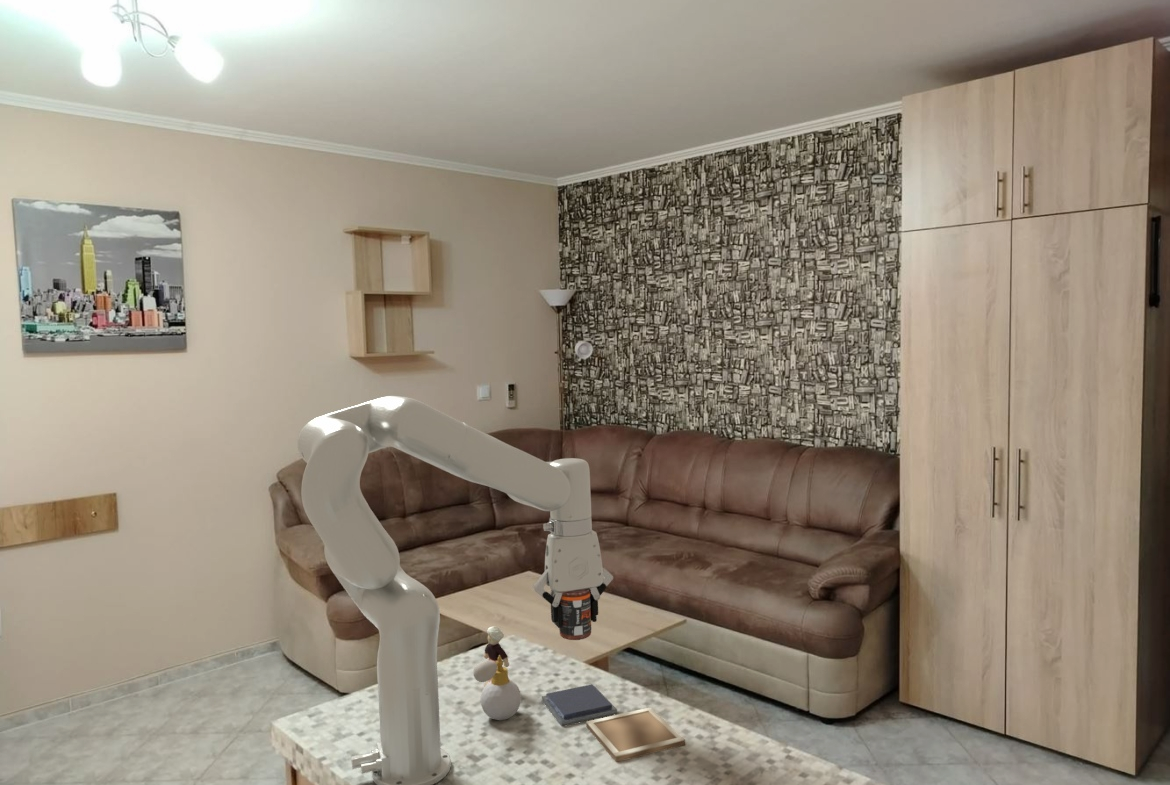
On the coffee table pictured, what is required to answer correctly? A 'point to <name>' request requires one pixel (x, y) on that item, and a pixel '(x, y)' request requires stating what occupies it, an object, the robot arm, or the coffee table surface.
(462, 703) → the coffee table surface
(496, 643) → the grandmother figurine
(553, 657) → the coffee table surface
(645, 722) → the framed board
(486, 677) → the perfume bottle
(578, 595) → the supplement bottle
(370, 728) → the coffee table surface
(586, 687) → the pad
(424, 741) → the robot arm
